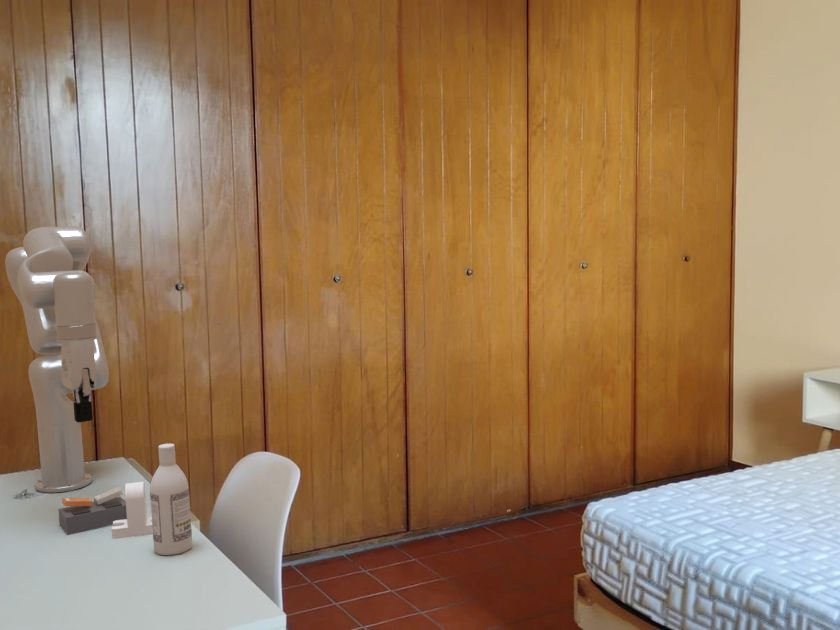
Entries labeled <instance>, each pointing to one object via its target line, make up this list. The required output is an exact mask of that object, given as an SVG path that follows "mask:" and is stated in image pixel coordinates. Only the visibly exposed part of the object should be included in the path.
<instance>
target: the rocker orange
mask: <svg viewBox="0 0 840 630" xmlns="http://www.w3.org/2000/svg"><path fill="white" fill-rule="evenodd" d="M92 502H93V500H92V499H91V498H89V497H62V500H61V504H62V505H63V506H64V507H70V506H92Z"/></svg>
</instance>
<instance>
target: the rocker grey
mask: <svg viewBox="0 0 840 630" xmlns="http://www.w3.org/2000/svg"><path fill="white" fill-rule="evenodd" d="M123 494H124V493H123V491H122V489H121V488H119V486H117V487H114V488H112V489H110V490H107V491H105V492H101V493H99V494H97V495H95V496H93V500H94V501H95V502H96V503H97V504H98V505H99V504H101V503H103V502H106V501H108V500H111V499H113V498H115V497H119V496H120V497H121V496H122V495H123ZM94 501H93V502H94Z"/></svg>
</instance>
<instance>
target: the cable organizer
mask: <svg viewBox="0 0 840 630" xmlns="http://www.w3.org/2000/svg"><path fill="white" fill-rule="evenodd" d="M124 489H125V490H124V494H125V495H124V496H125V501H126V512H127V519H124V520H116V521H113V525H112V526H111V537H112V539H113V540H114V539H115V540H116V539H117V540H118V539H123V538H133V537H139V536H147V535H153V528H152V516H148V514H147V513H148V511H147V501H146V487H145V481H140V482H139V481H137V482H126V483H125V488H124Z"/></svg>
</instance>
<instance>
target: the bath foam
mask: <svg viewBox="0 0 840 630" xmlns="http://www.w3.org/2000/svg"><path fill="white" fill-rule="evenodd" d="M157 450H158V460H159V465H158V468H157V469H156V470H155V472H154V474H153V476H152V479H151V482H150V486H149V487H150V488H149V496H150V497H149V498H150V514H151V517H152V528H153V534H152V540H153V550H154V552H155V553H156V554H157V555H161V556H175V555H179V554H183V553H185V552H187V551H189V550H190V549H191V548H192V546H193V535H192V534H193V531H192V518H191V517H192V516H191V501H190V489H189V481H188V479H187V477H186V474H185V473H184V471H183V470H182V469H181V468H180V466H179V465H178V464H177V463H176V462H177V459H176V448H175V444H174V443H163V444H159V445H158V447H157Z"/></svg>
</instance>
